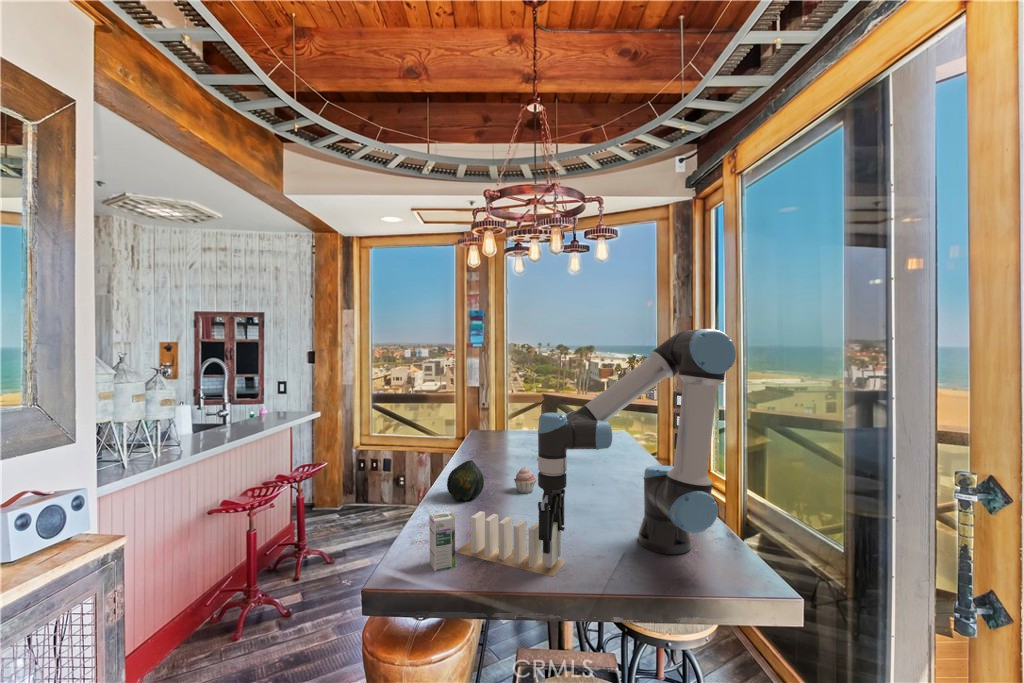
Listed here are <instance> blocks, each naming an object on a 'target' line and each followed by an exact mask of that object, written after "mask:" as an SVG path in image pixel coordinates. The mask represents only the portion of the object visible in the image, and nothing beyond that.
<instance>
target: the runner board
mask: <svg viewBox="0 0 1024 683" xmlns="http://www.w3.org/2000/svg"><path fill="white" fill-rule="evenodd" d="M456 553H457V554H460V555H461V554H462V555H465V556H469V557H472V558H477V559H481V560H484V561H485V560H486V561H488V562H493V563H497V564H501V565H503V566H508V567H512V568H517V569H521V570H525V571H528V572H532V573H536V574H541V575H543V576H548V577H552V578H553V577H554V576H556V574H557V573H558V572H559V570H560V569H561V568H562V566H563V565H564V564H565V563H566V561H565V560H562V559H561V560H560V559H558V560H557V561H556V563H555V564H554V565H553V566H552V568H549V567H546V564H542V560H541V561H540V562H539V563H538V564H537V565H536V566H535V567H534V568H533V567H529V552H527V556H526V557H525V558H524V559H523V560H522V561H521V562H520V563H519V564H517V563H514V548H512V553H511V554H510V555H509V556H508V557H507V558H506V559H505V560H501V559H499V545H498V550H497V551H496V552H495V553H494V554H493V555H491V556H490V557H489V556H485V547H483V548H482V549H481V550H480V551H478V552H477V553H473V552H471V540H469V541H468V542H466V543H465V544H463V545H462V547H460V548H458V549H457V550H455V554H456Z"/></svg>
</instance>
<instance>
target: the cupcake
mask: <svg viewBox="0 0 1024 683" xmlns="http://www.w3.org/2000/svg"><path fill="white" fill-rule="evenodd" d="M513 480H514V483H515V486H516V490H517V492H518V493H520V494H531V493H533V491H534V487H535V485H536V482H538V479H537V478H536V476H535V474H534V472H532V471H531V470H530V469H528V467H527V466H523V467H522V468H521V469H520V470H519V471H518V472H517V473H516V475H515V478H513Z"/></svg>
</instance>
